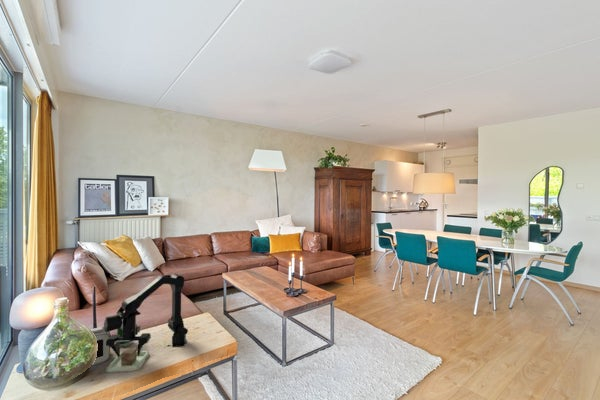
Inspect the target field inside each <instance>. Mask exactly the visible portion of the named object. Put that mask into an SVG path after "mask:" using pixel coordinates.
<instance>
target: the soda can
mask: <svg viewBox="0 0 600 400" xmlns="http://www.w3.org/2000/svg"><path fill="white" fill-rule="evenodd" d="M122 322H123V320H122ZM122 329H123V324H122V327H120V328H119V329H116V330H117V331H116V333H117V334H116V335H120V337H122V332H121V330H122ZM132 342H133V341H120V347H126V346H130V345H131V343H132Z"/></svg>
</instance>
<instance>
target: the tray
mask: <svg viewBox="0 0 600 400" xmlns="http://www.w3.org/2000/svg"><path fill="white" fill-rule="evenodd" d="M122 352H123V351H120V356H119V357H118V356H117V355H116V356H115V358H114V359H113V360H112V362H111V363H110V364H109V365H108V366H107V367H106V368H105V369H106V370H105V371H106V372H105V373H116V372H132V371H139V370H140V368H141V366H142V365H143V364H144V363H145V360H146V359H147V358H148V356H149V355H150V351H149V350H141V352H140V355H139V356H138V354H137V350H136V360H135V362H134V363H133V365H126V366H121V354H122Z"/></svg>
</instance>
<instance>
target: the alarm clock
mask: <svg viewBox="0 0 600 400" xmlns="http://www.w3.org/2000/svg"><path fill="white" fill-rule="evenodd" d="M89 329H90V330H91V331H92V332H93V333H94V334H95V336H96V338H97V343H98V351H97V357H96V360H95V362H94V364H93V365H92V366H95V365H98V364H102V363H105V362H106V361H108V360H109V359H110V356H111V347H109V346H106V341H107V339H108V338H109V337H111V331H109V332H105V330H104V326H100V327H95V328H89Z"/></svg>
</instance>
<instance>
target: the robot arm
mask: <svg viewBox="0 0 600 400" xmlns="http://www.w3.org/2000/svg"><path fill="white" fill-rule="evenodd" d="M163 285H170V289H171V292H172V293H171V298H172V299H171V317H170V318H168V319H167V327H168V328H169V329H170V331H172V333H173V335H172V336H171V344H172V345H171V347H184V346H185V345H186V343H187V341H188V340H187V334H188V332H189V329H187V328H186V327H185V323H184V320H183V319H184V318H183V317H182V290H183V289H184V286H185V277H184V276H182V275H181V274H179V273H173V274H164V275H158V276H157V277H156V278H154V280H152V281H151V282H150V283H149V284H148V285H147V286H145V287H144V288H142V289H141V290H140V291H139V292H138V293H136V294H134V295H133V294H132V295H131V296H128V297H127V298H126V299H124V300H123V301H122V302H121V306H120V307H119V309H118V310H117V312H116V314H115V315H114V314H113V315H111V316H105V320H104V322H103V327H104V330H105V332H109V331H110V332H113V331H115V330H117V329H119V328H120V327H122V324H123V329H122V330H121V332H122V337H120V335H117V334H111V335H110V337H109V338H108V339H107V341H106V346H109V347H110V349H111V350H113V352H114V353H115V355H116V357H117V356H118V357H119V356H120V352H121V346H120V341H132V342H133V341H134V342H137V343H138V344H137V350H136V351H137V354H138V356H139V355H140V352H141V351H142V349H143V346H145V345H146V344H148V342H149V341H150V339H151V336H152V335H151V333H150V332H148V333H147V332H145V333H144V332H143V333H141V334H140V335H139V333H140V331H141V325H138V324H136V323H137V316H139V315H142V314H141V313H142V312H140V311H139V308H140V307H141V305H142V303H143V302H144V301H145V300H146V299H147V298H149V297H150V296H152V294H153V293H154V292H155V291H157V290H158V289H159V288H160V287H161V286H163ZM122 321H123V322H122ZM138 335H139V336H138Z"/></svg>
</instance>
